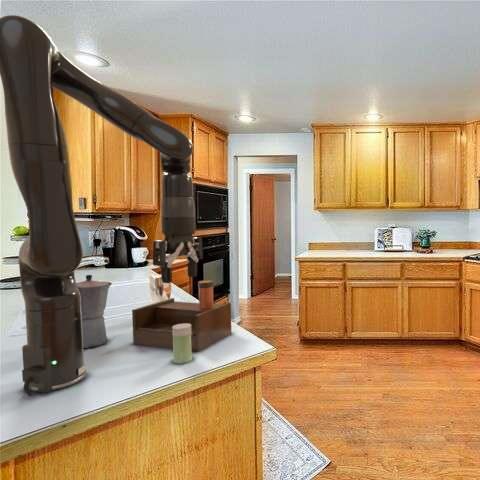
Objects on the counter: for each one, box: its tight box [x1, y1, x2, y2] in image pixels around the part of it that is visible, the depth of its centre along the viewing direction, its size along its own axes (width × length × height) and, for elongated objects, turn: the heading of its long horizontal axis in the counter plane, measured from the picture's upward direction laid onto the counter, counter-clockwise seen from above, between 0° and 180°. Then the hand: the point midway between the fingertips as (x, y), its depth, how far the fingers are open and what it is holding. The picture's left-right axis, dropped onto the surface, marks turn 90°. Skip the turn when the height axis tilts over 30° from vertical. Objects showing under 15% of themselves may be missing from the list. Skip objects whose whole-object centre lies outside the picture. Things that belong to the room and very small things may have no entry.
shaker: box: [172, 323, 193, 365], centre depth 90 cm, size 4×4×9 cm
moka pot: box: [76, 274, 113, 349], centre depth 100 cm, size 10×15×20 cm, turn 164°
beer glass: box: [148, 274, 172, 304], centre depth 129 cm, size 7×7×15 cm
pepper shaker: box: [197, 279, 214, 309], centre depth 108 cm, size 4×4×8 cm
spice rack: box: [131, 297, 232, 352], centre depth 106 cm, size 15×22×10 cm
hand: (180, 279), depth 89 cm, fingers open, 8 cm apart
